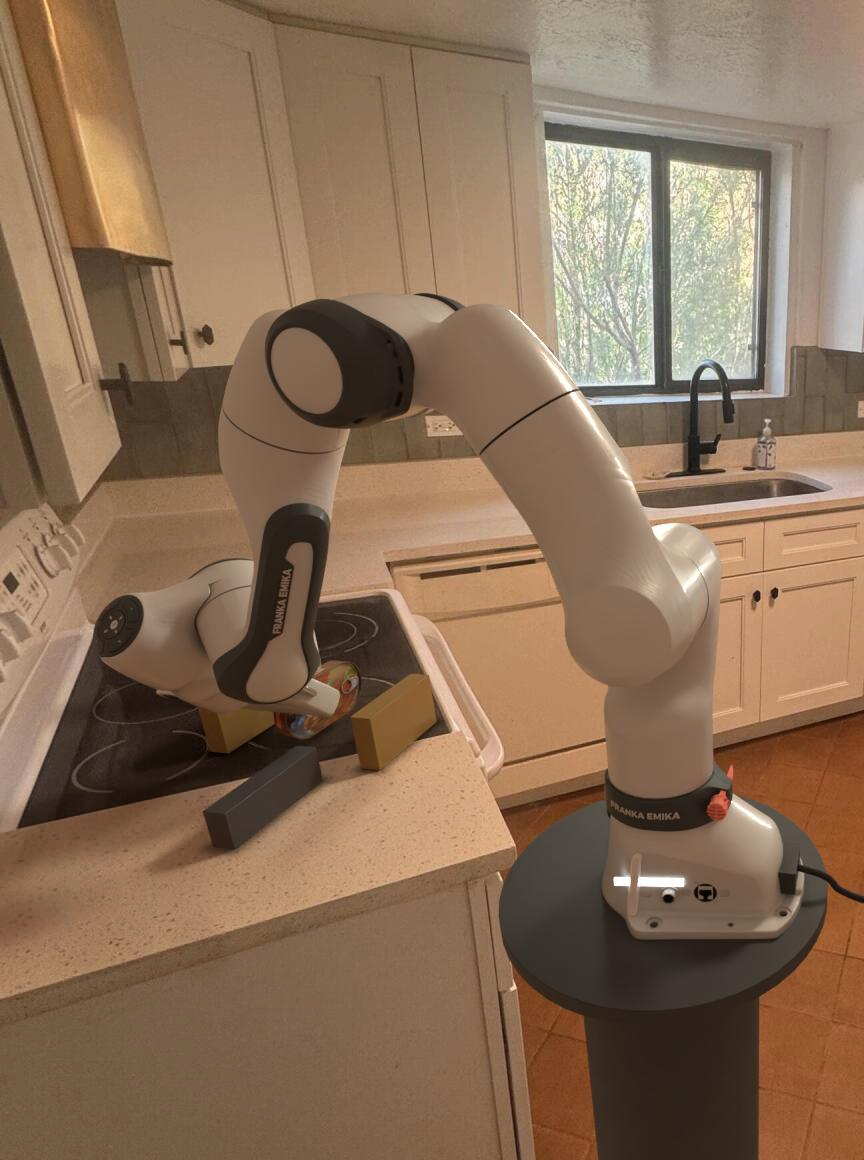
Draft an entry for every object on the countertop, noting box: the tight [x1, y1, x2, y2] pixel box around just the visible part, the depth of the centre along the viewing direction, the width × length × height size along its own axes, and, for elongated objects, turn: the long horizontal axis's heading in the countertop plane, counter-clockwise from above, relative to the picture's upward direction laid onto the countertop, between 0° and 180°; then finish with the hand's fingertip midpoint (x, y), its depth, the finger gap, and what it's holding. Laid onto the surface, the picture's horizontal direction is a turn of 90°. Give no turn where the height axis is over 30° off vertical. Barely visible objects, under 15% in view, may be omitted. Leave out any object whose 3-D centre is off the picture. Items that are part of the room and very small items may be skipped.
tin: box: [273, 660, 363, 740], centre depth 113 cm, size 15×3×8 cm, turn 167°
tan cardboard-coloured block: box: [197, 707, 275, 754], centre depth 116 cm, size 3×14×8 cm, turn 169°
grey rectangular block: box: [202, 745, 324, 851], centre depth 97 cm, size 3×15×5 cm, turn 169°
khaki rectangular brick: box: [349, 672, 437, 771], centre depth 112 cm, size 3×14×8 cm, turn 169°
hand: (297, 710), depth 109 cm, fingers closed on tin, 2 cm apart
